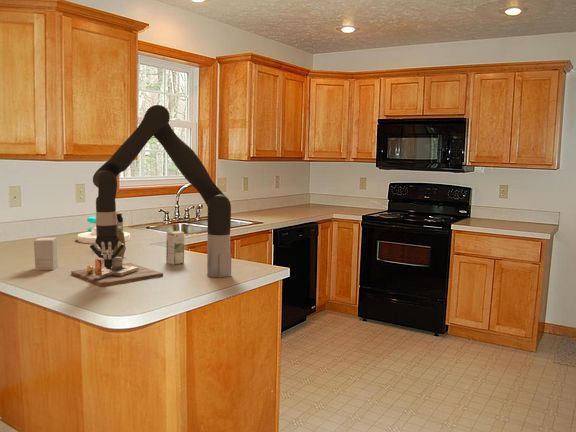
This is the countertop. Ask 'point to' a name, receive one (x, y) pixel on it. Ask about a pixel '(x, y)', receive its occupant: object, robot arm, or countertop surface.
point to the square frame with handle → (105, 272)
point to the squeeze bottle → (121, 239)
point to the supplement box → (45, 253)
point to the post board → (113, 279)
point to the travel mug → (120, 219)
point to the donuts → (91, 220)
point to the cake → (95, 236)
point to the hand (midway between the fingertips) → (108, 268)
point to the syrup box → (175, 247)
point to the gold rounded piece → (89, 269)
